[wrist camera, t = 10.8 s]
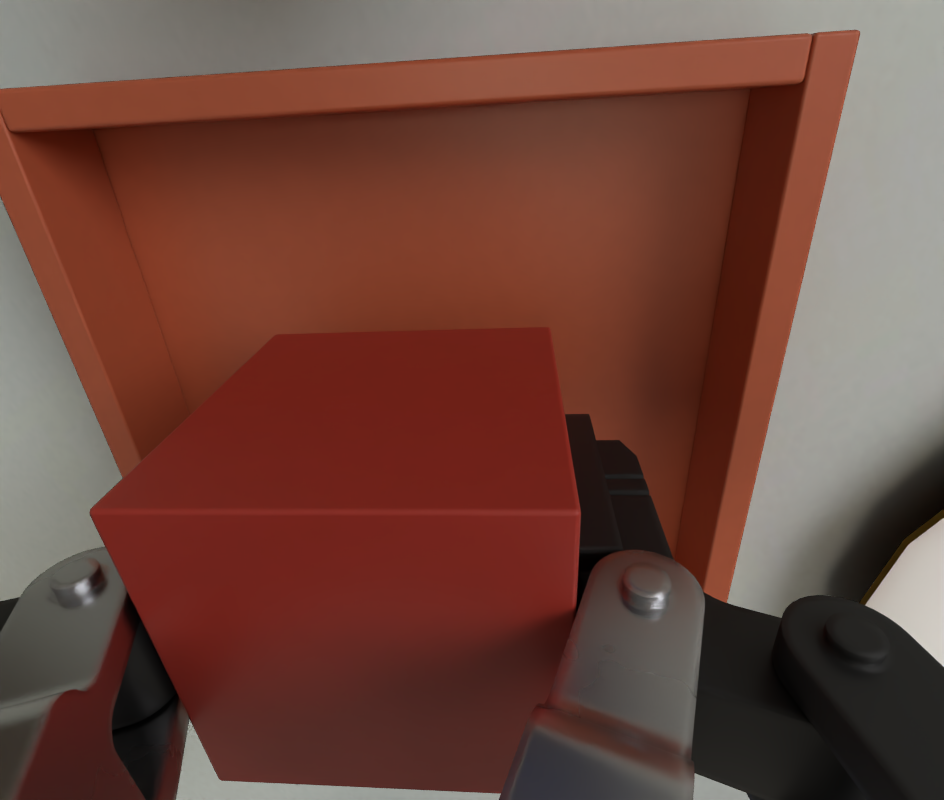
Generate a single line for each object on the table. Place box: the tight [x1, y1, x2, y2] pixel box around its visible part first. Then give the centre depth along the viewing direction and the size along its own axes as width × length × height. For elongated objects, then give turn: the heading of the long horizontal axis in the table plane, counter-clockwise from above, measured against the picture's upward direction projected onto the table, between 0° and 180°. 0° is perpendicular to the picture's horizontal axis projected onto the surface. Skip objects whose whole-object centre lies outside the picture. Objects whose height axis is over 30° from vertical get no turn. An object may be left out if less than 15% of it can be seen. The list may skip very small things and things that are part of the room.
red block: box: [90, 327, 581, 793], centre depth 9 cm, size 5×5×5 cm
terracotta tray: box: [0, 30, 860, 603], centre depth 12 cm, size 13×13×2 cm
